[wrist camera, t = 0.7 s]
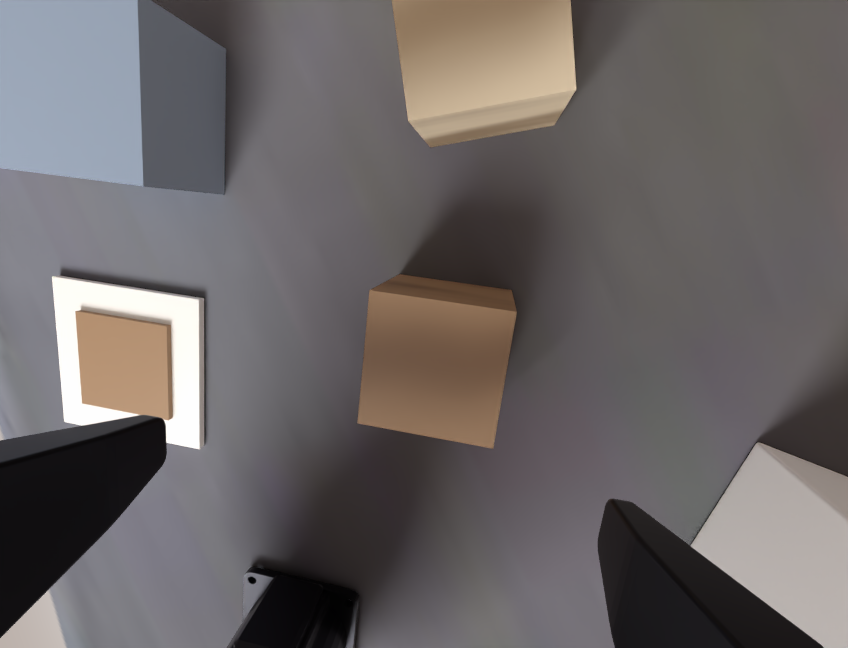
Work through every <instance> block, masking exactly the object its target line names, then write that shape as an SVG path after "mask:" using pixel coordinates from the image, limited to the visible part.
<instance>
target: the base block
mask: <svg viewBox="0 0 848 648" xmlns="http://www.w3.org/2000/svg"><path fill="white" fill-rule="evenodd" d="M225 103H226V49H225V48H224V47H222V46H221V45H219V44H218V43H216V42H214V41H213V40H211V39H210V38H208V37H207V36H205V35H204V34H202V33H201V32H199V31H197V30H196V29H194V28H193V27H191V26H190V25H188V24H187V23H185V22H184V21H182V20H181V19H179V18H177V17H176V16H174V15H173V14H171V13H170V12H168V11H167V10H165V9H164V8H162V7H160V6H159V5H157V4H156V3H154V2H153V1H151V0H0V168H4V169H12V170H19V171H27V172H35V173H43V174H51V175H59V176H66V177H74V178H82V179H90V180H98V181H106V182H113V183H121V184H129V185H137V186H145V187H155V188H164V189H174V190H184V191H194V192H203V193H213V194H223V195H224V192H225Z"/></svg>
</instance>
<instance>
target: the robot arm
mask: <svg viewBox="0 0 848 648" xmlns="http://www.w3.org/2000/svg"><path fill="white" fill-rule="evenodd" d="M166 454H167V448H166V424H165V421H164V420H163V419H162V418H160V417H155V416H150V415H138V416H133V417H127V418H122V419H116V420H111V421H105V422H100V423H94V424H89V425H83V426H78V427H72V428H67V429H61V430H56V431H50V432H45V433H40V434H34V435H29V436H23V437H18V438H12V439H7V440H1V441H0V638H1V637H2V636H3V635H4V634H5V633H6V632H7V631H8V630H9V629H10V628H11V626H13V625H14V624H15V623H16V622H17V621H18V620H19V619H20V618H21V617H22V616H23V615H24V614H25V613H26V612H27V611H28V610H29V609H30V608H31V607H32V606H33V605H34V603H36V601H38V600H39V599H40V598H41V597H42V596H43V595H44V594H45V593H46V591H48V590H49V589H50V588H51V587H52V586H53V585H54V584H55V583H56V582H57V580H58V579H59V578H60V577H61V576H62V575H63V574H64V573H65V572H66V571H67V570H68V569H69V568H70V567H71V566H72V565H73V564H74V563H75V562H76V561H77V560H78V559H79V558H80V557H81V556H82V555H83V554H84V553H85V552H86V551H87V550H88V549H89V548H90V547H91V546H92V545H93V544H94V543H95V542H96V541H97V540H98V539H99V538H100V537H101V536H102V535H103V534H104V533H105V532H106V531H107V530H108V529H109V528H110V527H111V526H112V525H113V523H114V522H115V521H116V520H117V519H118V518H119V517H120V515H121V514H122V513H123V512H124V511H125V509H126V508H127V507H128V506H129V505H130V504H131V502H132V501H133V500H134V499H135V498H136V496H137V495H138V494H139V493H140V492H141V490H142V489H143V488H144V487H145V486H146V485H147V483H148V482H149V481H150V480H151V479H152V477H153V476H154V475H155V474H156V473H157V471H158V470H159V469H160V468H161V467H162V465H163V463H164V461H165V459H166ZM598 554H599V560H600V566H601V573H602V579H603V585H604V592H605V598H606V604H607V610H608V617H609V623H610V628H611V634H612V638H613V642H614V646H615V648H824V647H823V646H822V645H821V644H820V643H818V642H817V641H816V640H814V639H813V638H812V637H810V636H809V635H808V634H806V633H805V632H804V631H802V630H801V629H800V628H798V627H797V626H796V625H794V624H793V623H792V622H790V621H789V620H788V619H786V618H785V617H784V616H782V615H781V614H780V613H778V612H777V611H776V610H774V609H773V608H772V607H770V606H769V605H768V604H766V603H765V602H764V601H763V600H761V599H760V598H759V597H757V596H756V595H755V594H753V593H752V592H751V591H749V590H748V589H747V588H745V587H744V586H743V585H741V584H740V583H739V582H737V581H736V580H735V579H733V578H732V577H731V576H729V575H728V574H727V573H725V572H724V571H723V570H721V569H720V568H719V567H717V566H716V565H715V564H713V563H712V562H711V561H709V560H708V559H707V558H705V557H704V556H703V555H701V554H700V553H699V552H697V551H696V550H695V549H693V548H692V547H691V546H690V545H688V544H687V543H686V542H684V541H683V540H682V539H680V538H679V537H678V536H676V535H675V534H674V533H672V532H671V531H670V530H668V529H667V528H666V527H664V526H663V525H662V524H660V523H659V522H658V521H656V520H655V519H654V518H652V517H651V516H650V515H648V514H647V513H646V512H644V511H643V510H642V509H640V508H639V507H638V506H636V505H635V504H634V503H632V502H629V501H623V500H618V499H609V500H608V501H607V503H606V506H605V510H604V514H603V518H602V523H601V527H600V531H599V536H598ZM348 599H349V600H351V601H349V600H348ZM359 600H360V599H359V595H358V593H357V592H355V591H354V590H351V589H347V588H343V587H338V586H334V585H330V584H325V583H321V582H317V581H313V580H308V579H304V578H300V577H296V576H291V575H287V574H283V573H278V572H274V571H270V570H266V569H261V568H257V567H252V568H250V569H249V570H248V571H247V572H246V574H245V575H244V580H243V621H242V624H241V626H240V627H239V629H238V630H237V632H236V634H235V635H234V637H233V638H232V640H231V642H230V643H229V645H228V646H227V648H355V638H356V629H357V619H358V609H359Z"/></svg>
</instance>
